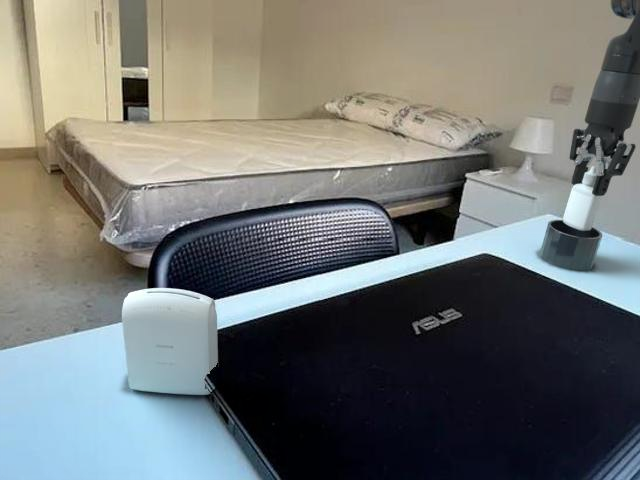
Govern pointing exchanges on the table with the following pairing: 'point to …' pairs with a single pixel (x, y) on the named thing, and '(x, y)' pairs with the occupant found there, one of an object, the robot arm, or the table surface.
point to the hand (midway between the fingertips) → (587, 189)
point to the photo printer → (169, 340)
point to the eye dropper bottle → (582, 203)
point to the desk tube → (570, 246)
